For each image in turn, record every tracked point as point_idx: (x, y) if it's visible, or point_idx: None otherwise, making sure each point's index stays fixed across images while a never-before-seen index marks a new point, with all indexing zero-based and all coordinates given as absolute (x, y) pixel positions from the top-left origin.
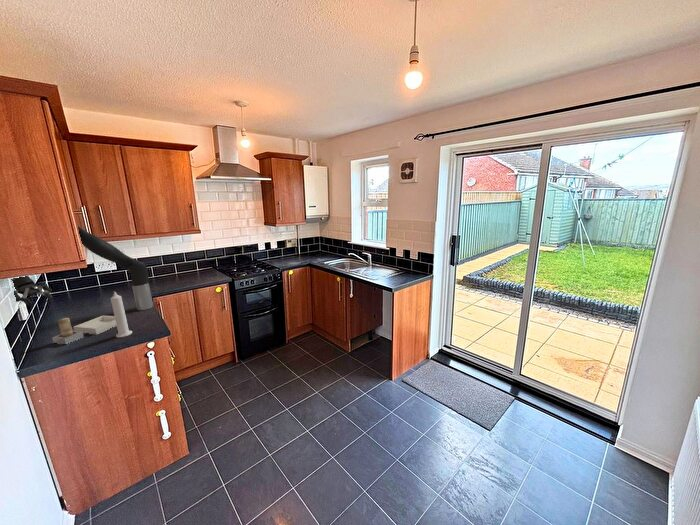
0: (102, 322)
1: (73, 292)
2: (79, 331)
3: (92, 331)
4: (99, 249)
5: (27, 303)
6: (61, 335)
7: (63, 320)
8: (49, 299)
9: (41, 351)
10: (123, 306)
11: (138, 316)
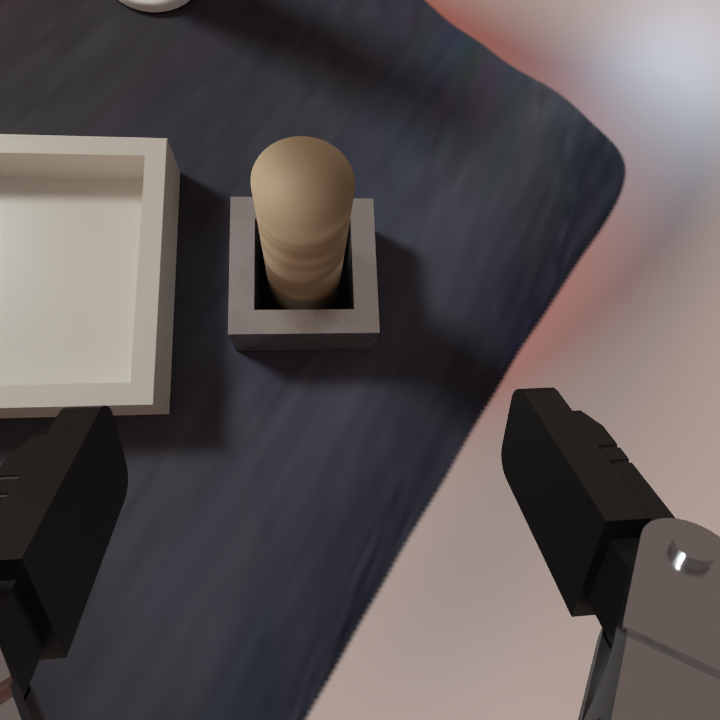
0: None
1: None
2: (237, 219)
3: (172, 193)
4: None
5: (596, 434)
6: (322, 311)
7: (323, 150)
8: (120, 480)
9: (479, 297)
10: None
11: None
